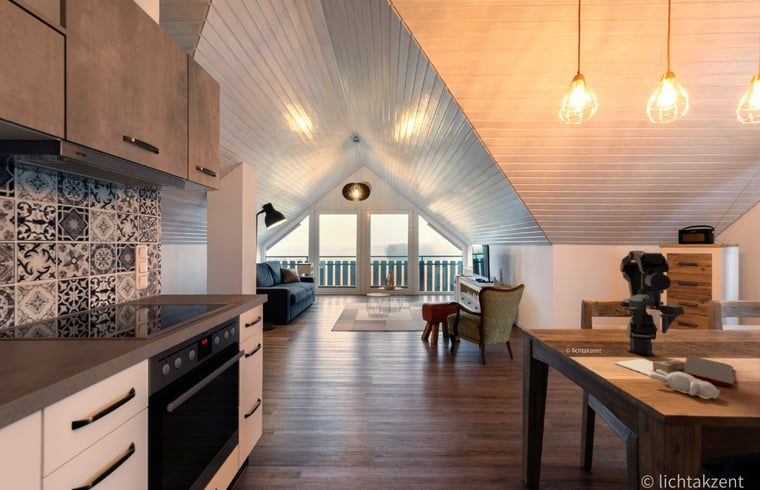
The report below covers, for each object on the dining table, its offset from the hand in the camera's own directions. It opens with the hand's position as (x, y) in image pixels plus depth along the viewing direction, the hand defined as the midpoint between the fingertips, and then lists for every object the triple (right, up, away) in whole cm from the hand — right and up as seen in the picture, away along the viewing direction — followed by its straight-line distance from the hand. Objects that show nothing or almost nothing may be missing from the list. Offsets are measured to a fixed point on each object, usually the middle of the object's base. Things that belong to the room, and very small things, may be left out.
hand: (650, 330), depth 130 cm
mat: (-5, -12, -7) cm, 15 cm away
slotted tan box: (-2, -11, -11) cm, 16 cm away
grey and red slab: (+11, -12, -10) cm, 19 cm away
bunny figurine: (-9, -13, -25) cm, 29 cm away
